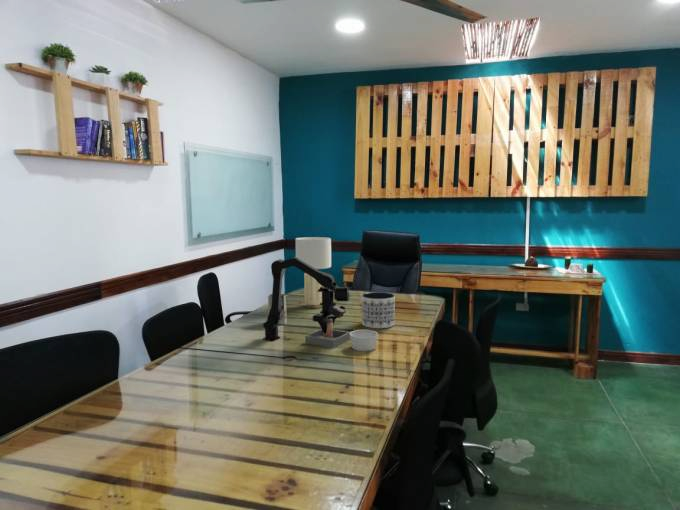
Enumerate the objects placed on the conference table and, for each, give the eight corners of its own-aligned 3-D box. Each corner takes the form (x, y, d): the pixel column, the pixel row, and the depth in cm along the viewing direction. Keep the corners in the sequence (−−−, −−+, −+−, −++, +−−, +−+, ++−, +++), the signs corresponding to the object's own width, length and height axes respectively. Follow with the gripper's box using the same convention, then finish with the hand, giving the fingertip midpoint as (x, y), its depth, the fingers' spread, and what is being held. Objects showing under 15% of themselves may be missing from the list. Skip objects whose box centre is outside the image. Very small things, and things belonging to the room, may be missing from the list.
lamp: (291, 304, 311) (290, 238, 306) (323, 301, 321) (322, 236, 316) (303, 311, 291) (302, 240, 286) (337, 308, 300) (336, 238, 295)
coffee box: (287, 321, 268) (286, 293, 266) (284, 324, 261) (284, 296, 259) (271, 321, 268) (270, 293, 267) (268, 324, 262) (267, 295, 260)
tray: (333, 348, 219) (333, 340, 218) (305, 343, 227) (305, 335, 226) (350, 339, 232) (350, 332, 232) (323, 334, 240) (322, 328, 240)
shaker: (329, 338, 226) (329, 320, 225) (320, 336, 228) (320, 319, 227) (335, 335, 230) (334, 318, 229) (326, 334, 233) (326, 317, 232)
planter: (394, 320, 268) (394, 292, 266) (394, 329, 250) (395, 298, 248) (362, 320, 270) (362, 292, 268) (360, 328, 252) (360, 298, 250)
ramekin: (375, 353, 211) (375, 338, 210) (347, 351, 214) (347, 336, 213) (379, 344, 224) (379, 330, 223) (352, 343, 227) (352, 329, 226)
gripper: (332, 306, 215) (332, 339, 217) (351, 298, 231) (351, 329, 233) (311, 303, 221) (312, 336, 223) (332, 296, 237) (332, 326, 239)
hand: (327, 332), depth 229 cm, fingers closed on shaker, 5 cm apart
